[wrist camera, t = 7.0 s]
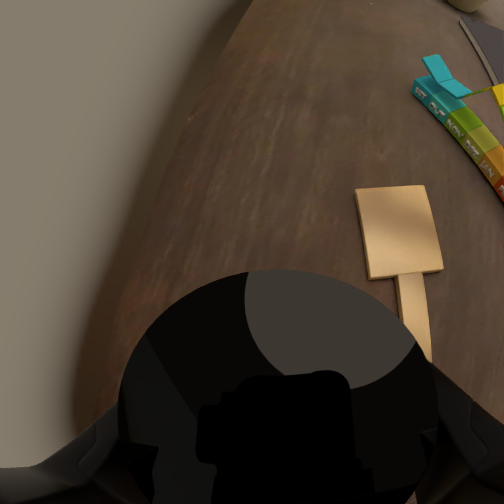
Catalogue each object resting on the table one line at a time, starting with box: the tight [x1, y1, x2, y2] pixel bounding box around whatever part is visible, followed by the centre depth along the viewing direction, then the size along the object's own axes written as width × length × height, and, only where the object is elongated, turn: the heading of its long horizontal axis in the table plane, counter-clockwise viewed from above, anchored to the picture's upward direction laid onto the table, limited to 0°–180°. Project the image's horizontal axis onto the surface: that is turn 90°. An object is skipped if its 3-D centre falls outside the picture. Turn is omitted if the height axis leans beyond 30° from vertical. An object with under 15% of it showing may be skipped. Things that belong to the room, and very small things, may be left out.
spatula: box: [354, 185, 444, 363], centre depth 19 cm, size 23×6×1 cm, turn 2°
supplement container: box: [117, 269, 439, 504], centre depth 10 cm, size 7×7×10 cm
